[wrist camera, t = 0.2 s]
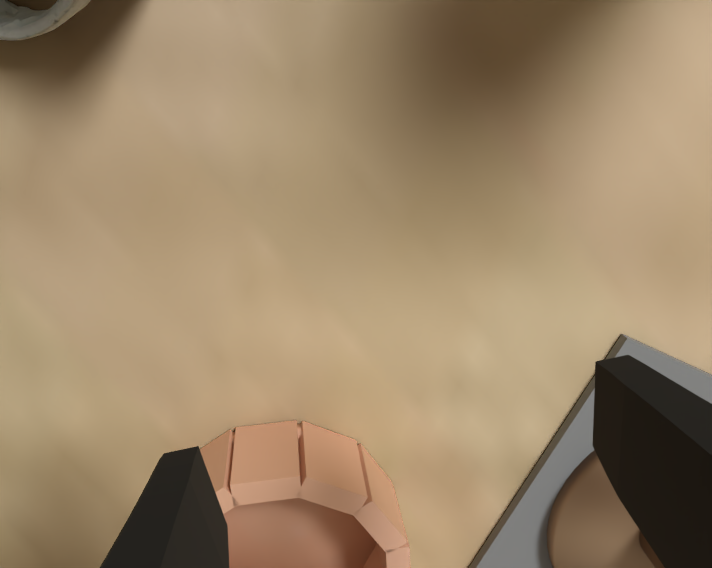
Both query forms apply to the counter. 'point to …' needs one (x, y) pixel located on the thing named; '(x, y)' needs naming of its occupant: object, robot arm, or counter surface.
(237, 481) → the bowl
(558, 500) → the lid
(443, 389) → the counter surface
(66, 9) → the ceramic mug
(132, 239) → the counter surface
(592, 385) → the mat
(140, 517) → the robot arm
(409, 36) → the counter surface
